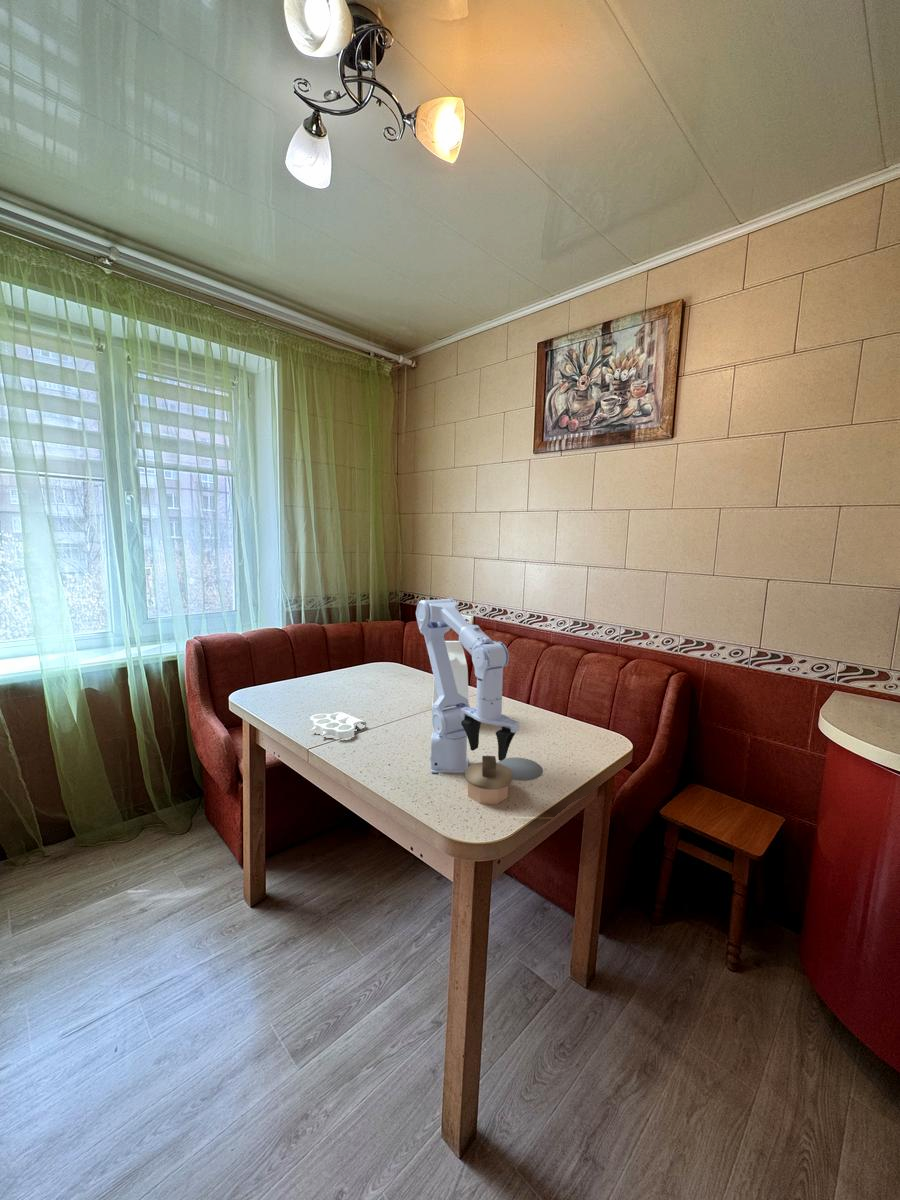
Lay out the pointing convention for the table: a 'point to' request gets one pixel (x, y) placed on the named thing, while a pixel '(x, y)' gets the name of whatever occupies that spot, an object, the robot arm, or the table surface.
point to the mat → (522, 768)
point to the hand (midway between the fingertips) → (488, 753)
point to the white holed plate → (335, 724)
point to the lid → (488, 774)
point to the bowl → (487, 794)
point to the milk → (456, 670)
